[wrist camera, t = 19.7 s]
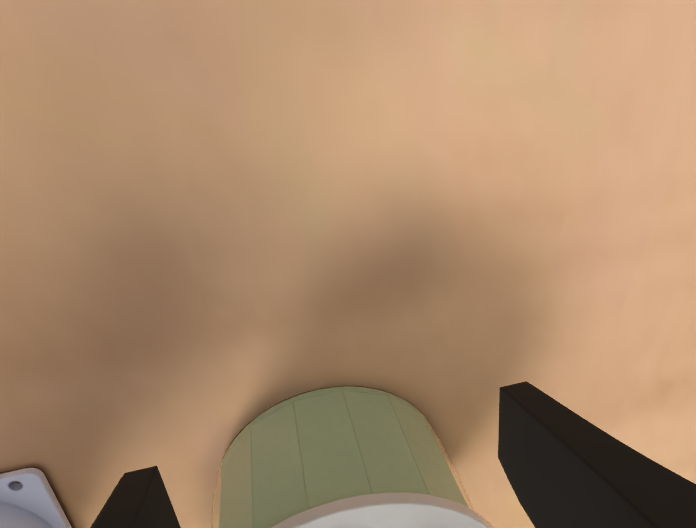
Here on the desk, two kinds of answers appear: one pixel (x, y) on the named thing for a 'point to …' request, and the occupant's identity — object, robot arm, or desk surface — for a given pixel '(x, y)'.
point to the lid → (388, 513)
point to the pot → (329, 457)
